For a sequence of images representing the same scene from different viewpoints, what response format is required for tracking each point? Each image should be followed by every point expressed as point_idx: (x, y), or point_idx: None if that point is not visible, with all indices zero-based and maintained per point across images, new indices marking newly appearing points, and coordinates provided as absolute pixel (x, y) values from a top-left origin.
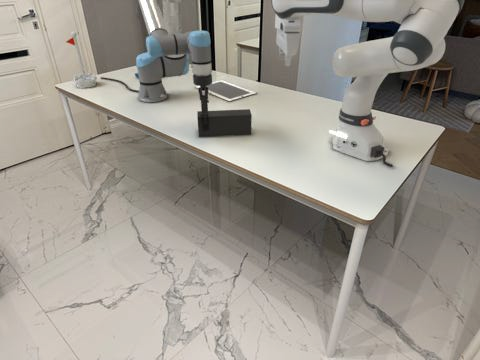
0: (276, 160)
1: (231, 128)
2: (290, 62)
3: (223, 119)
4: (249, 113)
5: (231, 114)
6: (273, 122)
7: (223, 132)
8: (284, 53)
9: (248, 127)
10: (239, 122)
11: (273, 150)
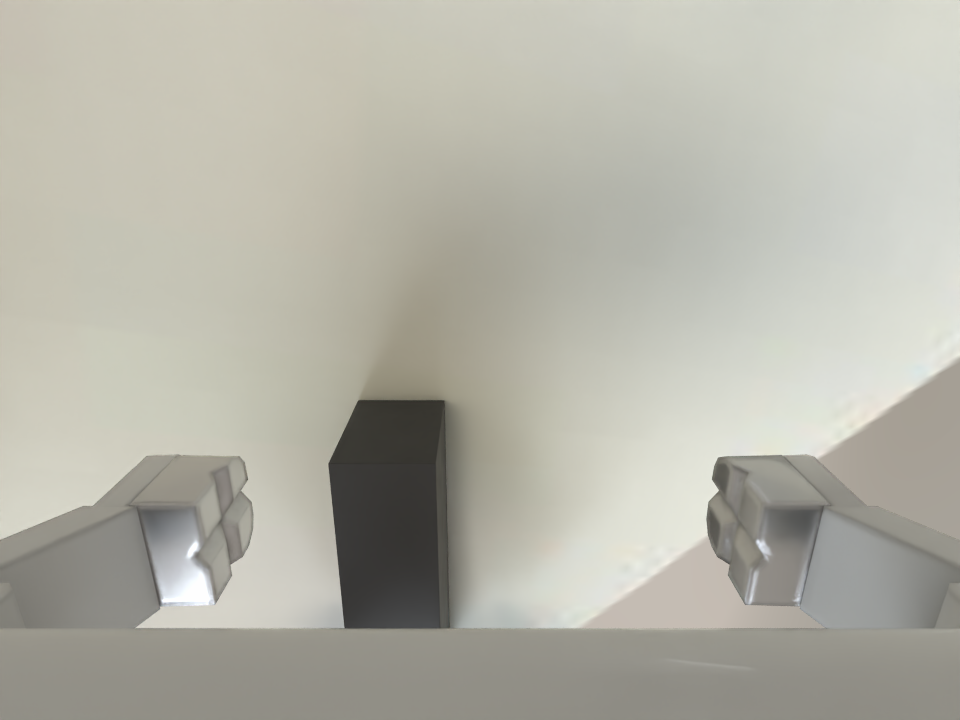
0: (777, 314)
1: (444, 526)
2: (847, 488)
3: (441, 604)
4: (411, 474)
5: (420, 579)
6: (261, 234)
7: (446, 550)
8: (115, 524)
9: (441, 437)
10: (440, 506)
11: (662, 309)
